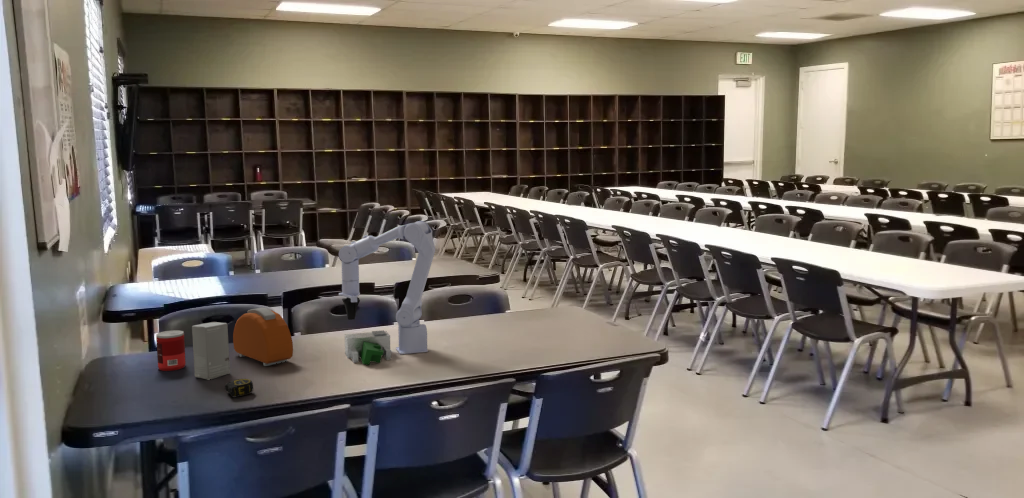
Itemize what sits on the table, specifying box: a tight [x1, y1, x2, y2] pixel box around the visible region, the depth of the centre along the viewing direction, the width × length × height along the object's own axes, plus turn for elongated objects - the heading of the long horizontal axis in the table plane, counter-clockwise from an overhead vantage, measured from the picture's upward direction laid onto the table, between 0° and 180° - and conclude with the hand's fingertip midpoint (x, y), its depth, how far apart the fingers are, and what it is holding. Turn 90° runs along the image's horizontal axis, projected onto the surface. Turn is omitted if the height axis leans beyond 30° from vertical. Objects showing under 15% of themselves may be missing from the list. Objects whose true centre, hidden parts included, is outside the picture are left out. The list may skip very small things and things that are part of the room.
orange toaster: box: [232, 307, 294, 367], centre depth 244 cm, size 23×9×17 cm, turn 47°
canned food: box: [155, 329, 187, 372], centre depth 234 cm, size 8×8×11 cm
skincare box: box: [191, 321, 231, 381], centre depth 226 cm, size 8×7×16 cm
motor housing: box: [344, 330, 392, 364], centre depth 248 cm, size 14×12×7 cm
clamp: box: [359, 341, 384, 366], centre depth 243 cm, size 11×6×8 cm, turn 10°
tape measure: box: [224, 378, 254, 398], centre depth 209 cm, size 7×7×4 cm
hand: (351, 319), depth 258 cm, fingers closed
